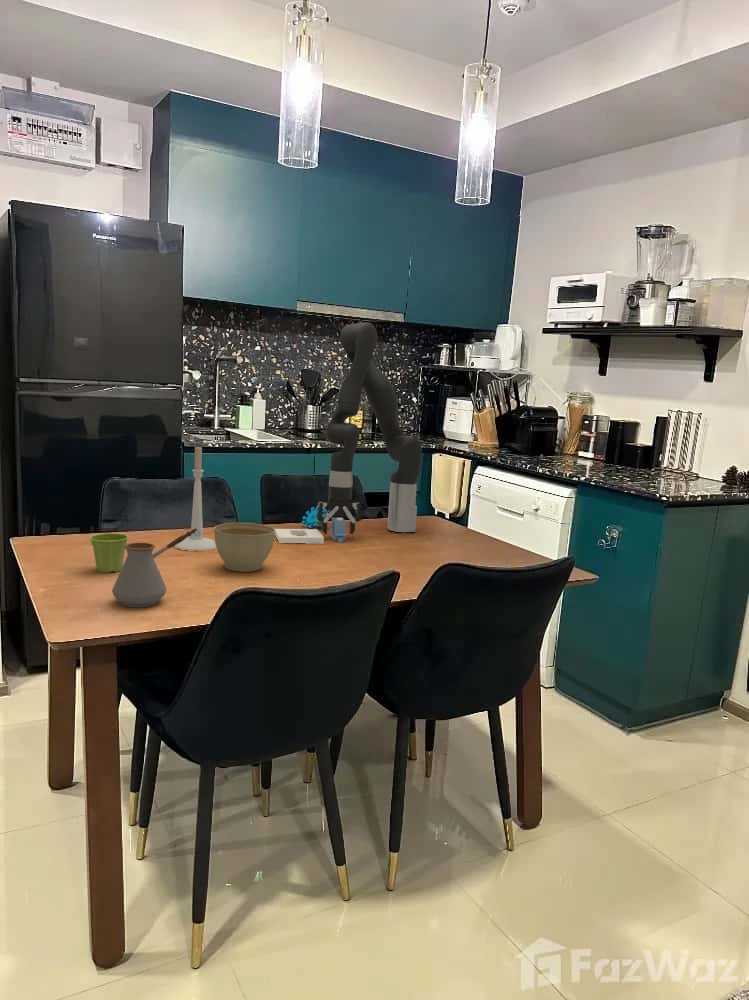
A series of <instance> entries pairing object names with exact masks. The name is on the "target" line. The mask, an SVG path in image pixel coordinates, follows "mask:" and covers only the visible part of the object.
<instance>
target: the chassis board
mask: <svg viewBox="0 0 749 1000" xmlns="http://www.w3.org/2000/svg"><path fill="white" fill-rule="evenodd" d="M274 529H275V535H276V537H277V539H278V541H279V542H278V541H277V542H278V544H279V543H306V544H305V545H313V544H314V545H319V544H321V545H324V544H325V543H324V542H325V537H324V536H323V534H322V533H321V532H320V531H319V530H318V529H317V528H311V529H309V528H274ZM275 535H274V536H275ZM297 535H304V536H297ZM276 537H275V538H276ZM277 539H276V540H277Z"/></svg>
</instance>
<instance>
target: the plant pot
mask: <svg viewBox="0 0 749 1000" xmlns="http://www.w3.org/2000/svg"><path fill="white" fill-rule="evenodd" d="M128 539H129V535H128V534H124V533H118V532H117V533H113V532H112V533H111V532H110V533H107V532H106V533H98V534H93V535H91V536H89V540H90V541H91V546H92V550H93V553H94V561H95V567H96V571H97V572H99V573H111V572H115V573H117V572H120V571H121V569H122V567H123V565H124V557H125V551H126V549H125V545H127V544H128V543H127V541H128Z"/></svg>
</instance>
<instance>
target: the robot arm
mask: <svg viewBox="0 0 749 1000" xmlns="http://www.w3.org/2000/svg"><path fill="white" fill-rule="evenodd" d="M339 339H340V343H341V346H342V348H343V350H344V352H345V354H346V356H347V358H348V359H349V360H348V361H350V364H351V366H350V369H349V370H348V372H347V373H346V376H344V379H343V381H342V383H341V385H340V389H339V392H338V398H337V403H336V408H335V410H334V412H333V414H332V418H331V419H330V421H329V423H328V426H327V427H326V429H327V430H326V437H327V440H328V442H329V443H330V444H333V445H343V449H342V450H341V451H335V452H333V453H332V454H331V457H330V472H329V480H328V498H327V499H328V500H327V502H322V501H318V503H317V506H318V510H317V519H318V521H321V522H322V527H321V531H322V533H323V534H324V535H328V529H327V527H328V521H329V520H330V519H332V518H333V516H334V517H338V516H339V517H347V518H348V519H349V521H350V522H349V535H353V534H354V533H355V531H356V523H358V522H361V521H362V504H361V503H360V502H359V501H357V502H352V497H353V484H354V483H353V482H354V481H353V466H354V465H353V464H354V463H353V462H354V457H355V453H356V450H357V447H358V445H359V441H360V436H361V431H360V428H359V426H358V425H357V424H355V423H352V422H346V421H347V419H348V418H353V417H356V416H358V413H359V409H360V403H361V397H362V391H364V393H365V396H366V399H367V401H368V403H369V405H370V407H371V410H372V411H373V413H374V417H375V418H376V422H377V423H378V426H379V428H380V432H381V434H382V438H383V440H384V445H385V447H386V450H387V453H388V455H389V457H390V459H391V460H392V461H394V462H397V463H398V468H397V470H396V471H395V472H392V473H391V475H390V483H389V496H388V497H389V499H388V513H387V514H388V515H387V528H388V529H389V530H392V531H396V532H412V531H413V532H414V531H415V532H416V528H417V527H416V526H417V511H418V506H417V505H416V502H417V501H416V498H417V483H418V478H419V477H420V474H421V473H420V472H421V466H422V457H423V448H422V444H421V441H420V440H419V439H417V438H415V437H411V436H406V435H405V434H404V432H403V431H402V428H401V427H400V424H399V420H398V409H399V408H398V407H399V403H398V402H399V401H398V397H397V394H396V392H395V389H394V387H393V385H392V382H391V381H390V379H389V378H388V377H387V376H386V375H385V374H384V372H382V370H380V369H379V368H378V367H377V365H376V364H375V363H374V362H373V361H372V358H373V356H374V352H375V350H376V346H377V342H378V332H377V329H376V328H375V326H374V324H372V323H370V322H366V321H365V322H363V321H362V322H358V323H353V324H352V323H351V324H347V325H345V326H343V327H342V329H341V331H340V337H339ZM326 507H327V508H328V509H327V513H325V514H326V515H325V516H324V517H323V516H322V514H323V513H322V511H323V509H326ZM352 508H353V509H354V510H355V517H354V516H353V515H352V513H351V509H352Z"/></svg>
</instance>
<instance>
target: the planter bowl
mask: <svg viewBox="0 0 749 1000" xmlns="http://www.w3.org/2000/svg"><path fill="white" fill-rule="evenodd" d="M275 529H276V528H274V527H272V526H270V525H265V524H261V523H260V524H259V523H251V522H231V523H229V522H228V523H222V524H217V525H215V526H214V527H213V533H214V541H215V544H216V548H217V549H216V550H217V553H218V555H219V557H220V558H221V560H222V561H223V563H224V566H225V569H226V570H229V571H233V572H238V573H239V572H240V573H244V572H245V573H247V572H256V571H259V570H261V569H262V565H263V563H264V562H265V561H266V559H267V558H268V557H269V555H270V553H271V550H272V549H273V546H274V540H275Z"/></svg>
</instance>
